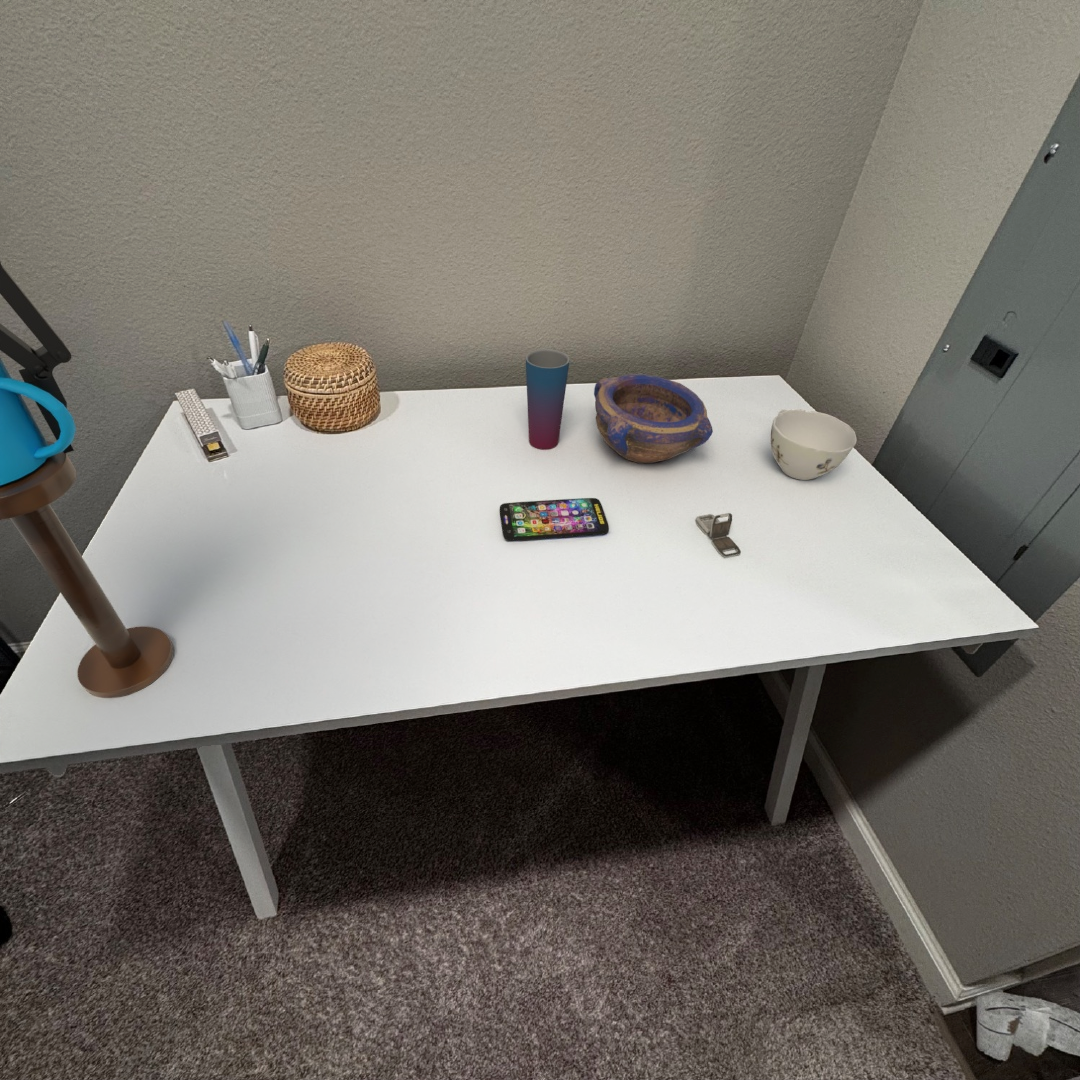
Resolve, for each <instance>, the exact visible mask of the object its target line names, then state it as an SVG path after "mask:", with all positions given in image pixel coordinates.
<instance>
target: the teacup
mask: <svg viewBox="0 0 1080 1080" xmlns="http://www.w3.org/2000/svg"><path fill="white" fill-rule="evenodd" d="M771 423H772V424H771V428H770V449H771V452H772V455H773V458H774V459H775V461H776V463H777V464H778V466H779V467H780V469H781V471H782V472H783V473H784V474H785V475H787V476H788V477H790V478H792V479H795V480H802V481H809V480H813V479H816V478H818V477H820V476H823V475H826V474H828V473H829V472H831V471H833V470H834V469H835V468H837V467H838V466H839V465H840V464H842V462H843V461H844V460H845V459H846V458H847V457H848V455H850V453H851V451H852V450H853V448H854V447H855V446H856V445H857V439H858V438H857V436H856V432H855V430H854V429H853V428H852V427H851V426H850V425H849V424H847V423H846V422H844V421H842V420H840V419H839V418H838V417H835V416H832V415H831V414H827V413H824V412H820V411H816V410H810V411H806V410H804V409H799V408H798V409H781V410H780V411H779V412H778V414H777V415H776V416H775V417H774V418H773V419H772V422H771Z"/></svg>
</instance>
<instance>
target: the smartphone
mask: <svg viewBox="0 0 1080 1080" xmlns="http://www.w3.org/2000/svg"><path fill="white" fill-rule="evenodd" d="M499 517H500V524H501V531H502V537H503V539H504V540H506V541H510V542H511V541H512V542H514V541H530V540H544V539H559V538H575V537H576V538H577V537H587V536H589V537H590V536H601V535H606V534H607V533H609V527H610V526H609V521H608V519H607V517H606V513H605V511H604V508H603V505H602V503H601V501H600V499H598V498H596V497H581V498H564V499H545V500H531V501H530V500H529V501H516V502H503V503H502V504H501V505H499Z"/></svg>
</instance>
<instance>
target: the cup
mask: <svg viewBox="0 0 1080 1080" xmlns="http://www.w3.org/2000/svg"><path fill="white" fill-rule="evenodd" d="M570 361H571V359H570V356H569V355H568V354H567V353H566V352H564V351H561V350H560V349H559V350H558V349H554V348H537V349H533V350H531V351H529V352H527V353H526V355H525V377H526V380H525V381H526V402H527V406H526V407H527V426H528V429H527V430H528V443H529V445H530V446H531V447H533V448H534V449H538V450H551V449H554V448H556V447H558V445H559V441H560V433H561V426H562V419H563V412H564V404H565V399H566V398H565V396H566V390H567V383H568V375H569V367H570Z"/></svg>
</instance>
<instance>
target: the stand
mask: <svg viewBox="0 0 1080 1080" xmlns="http://www.w3.org/2000/svg"><path fill="white" fill-rule="evenodd" d="M46 441H47V443H48V445H49V446H50V445H52V444H54V443H55V441H54V442H53V441H50V440H46ZM76 478H77V471H76V468H75V466H74V464H73V462H72V460H71V459H70V456H69V455H68V453H65V454H64V453H63V451H62V452H60V453H58V454H55V455H53V456H51V457H48V458H47V459H46V461H45V462H44V463H43V464H42V465H40V466H39V467H38V468H37V469H35V470H34V471H32V472H31V473H29V474H27V475H25V476H23V477H21V478H19V479H17V480H14V481H11V482H9V483H6V484H3V485H0V521H3V520H8V519H10V521H11V522H12V524H13V525H14V527H15V528H16V529H17V531H18V532H19V534H20V535H21V537H22V538H23V540H24V541H25V543H26V544H27V546H28V547H29V549H30V550H31V551H32V553H33V554H34V556H35V557H36V559H37V560H38V562H39V563H40V565H41V566H42V568H43V569H44V570H45V572H46V573H47V575H48V577H49V578H50V579H51V581H52V582H53V584H54V586H55V587H56V588H57V590H58V591H59V593H60V594H61V596H62V597H63V598H64V600H65V602H66V603H67V604H68V606H69V608H70V609H71V611H72V612H73V613H74V615H75V616H76V617H77V619H78V621H79V622H80V624H81V625H82V626H83V628H84V629H85V631H86V632H87V634H88V636H89V637H90V638H91V639H92V641H93V643H94V645H93V646H91V647H90V648H89V649H88V651H87V652H86V653H85V654H84V655H83V657H82V658H81V660H80V662H79V664H78V667H77V679H78V682H79V684H80V685H81V686H82V687H83V689H84V690H85V691H86V692H87V693H88V694H90V695H92V696H94V697H97V698H104V699H111V698H113V699H115V698H121V697H125V696H128V695H132V694H134V693H136V692H140V691H141V690H143V689H145V688H146V687H148V686H150V685H151V684H153V683H154V682H156V681H157V680H159V678H160V677H161V676H162V675H163V674H164V673H165V672H166V671H167V669H168V668H169V666H170V665H171V663H172V660H173V657H174V646H173V643H172V641H171V639H170V637H169V636H168V634H166V632H164V631H163V630H161V629H159V628H157V627H154V626H143V625H142V626H133V627H132V626H131V627H128V628H127V627H126V625H125V624H124V623H123V621H122V619H121V618H120V616H119V614H118V613H117V611H116V609H115V608H114V606H113V605H112V603H111V602H110V601H111V600H109V597H108V596H107V595H106V593H105V592H104V589H102V587H101V585H100V584H99V581H98V580H97V579H96V577H95V575H94V574H93V572H92V570H91V569H90V567H89V565H88V564H87V562H86V560H85V558H83V556H82V554H81V553H80V551H79V549H78V548H77V546H76V544H75V543H74V541H73V540H72V538H71V536H70V535H69V533H68V531H67V530H66V528H65V527H64V525H63V523H62V522H61V520H60V518H59V517H58V515H57V514H56V512H55V510H54V509H53V507H52V505H51V504H52V503H53V502H55V501H56V500H58V499H59V498H61V497H62V496H64V494H66V493H67V492H68V491H69V490H70V489H71V487H72V486H73V485H74V483H75V482H76V480H77V479H76Z"/></svg>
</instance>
